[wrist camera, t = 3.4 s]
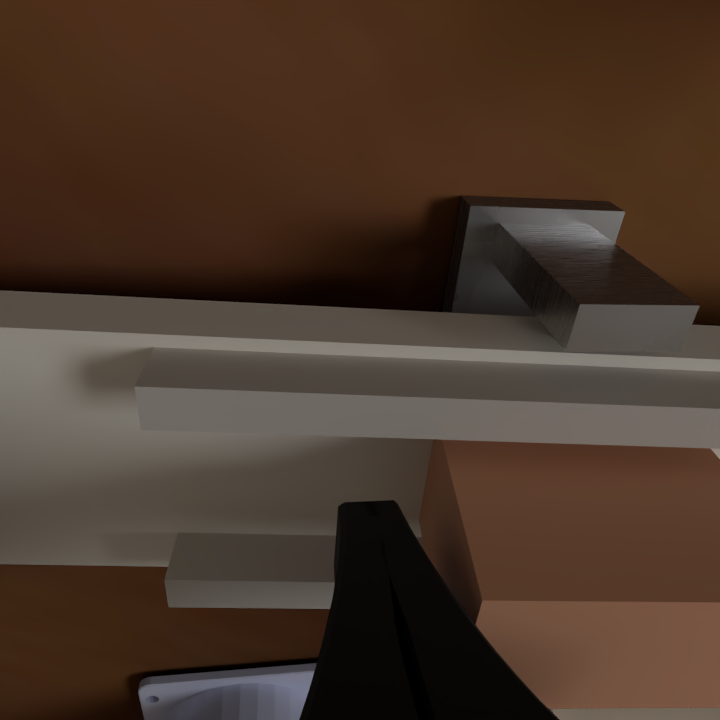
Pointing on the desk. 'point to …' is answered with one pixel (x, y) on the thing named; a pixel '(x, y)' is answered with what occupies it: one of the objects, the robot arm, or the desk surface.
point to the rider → (585, 565)
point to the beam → (285, 426)
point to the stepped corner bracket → (563, 275)
